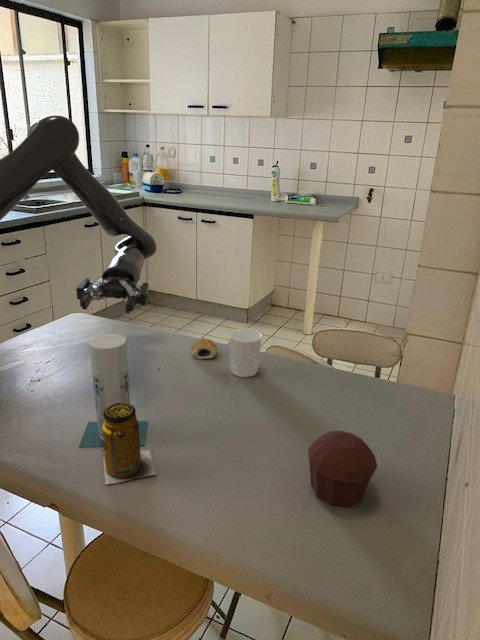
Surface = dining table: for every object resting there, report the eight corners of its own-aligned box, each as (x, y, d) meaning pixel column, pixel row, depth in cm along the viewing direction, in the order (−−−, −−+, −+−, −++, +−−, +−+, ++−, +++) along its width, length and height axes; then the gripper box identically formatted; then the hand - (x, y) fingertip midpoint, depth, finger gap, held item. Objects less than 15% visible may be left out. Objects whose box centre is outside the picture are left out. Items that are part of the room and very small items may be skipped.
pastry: (192, 344, 130) (193, 332, 128) (216, 345, 130) (217, 332, 129) (191, 360, 121) (191, 347, 120) (217, 360, 122) (217, 347, 120)
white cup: (235, 361, 121) (237, 326, 118) (264, 367, 119) (266, 332, 115) (223, 374, 115) (224, 337, 111) (253, 381, 112) (255, 344, 108)
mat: (78, 447, 87) (78, 446, 87) (87, 422, 94) (87, 421, 94) (143, 445, 88) (143, 445, 88) (147, 421, 95) (147, 420, 95)
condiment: (102, 458, 84) (97, 401, 80) (149, 450, 87) (147, 395, 82) (105, 485, 78) (100, 426, 73) (156, 476, 80) (153, 417, 76)
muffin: (304, 462, 85) (309, 416, 81) (365, 468, 84) (373, 422, 80) (305, 511, 74) (311, 460, 70) (376, 518, 73) (385, 467, 70)
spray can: (97, 425, 93) (88, 335, 85) (130, 420, 95) (124, 331, 87) (98, 445, 87) (89, 350, 80) (133, 439, 89) (128, 346, 82)
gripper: (90, 256, 104) (67, 287, 89) (154, 262, 104) (141, 293, 90) (92, 286, 107) (70, 320, 93) (153, 291, 108) (141, 326, 94)
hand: (105, 307), depth 92 cm, fingers open, 8 cm apart
